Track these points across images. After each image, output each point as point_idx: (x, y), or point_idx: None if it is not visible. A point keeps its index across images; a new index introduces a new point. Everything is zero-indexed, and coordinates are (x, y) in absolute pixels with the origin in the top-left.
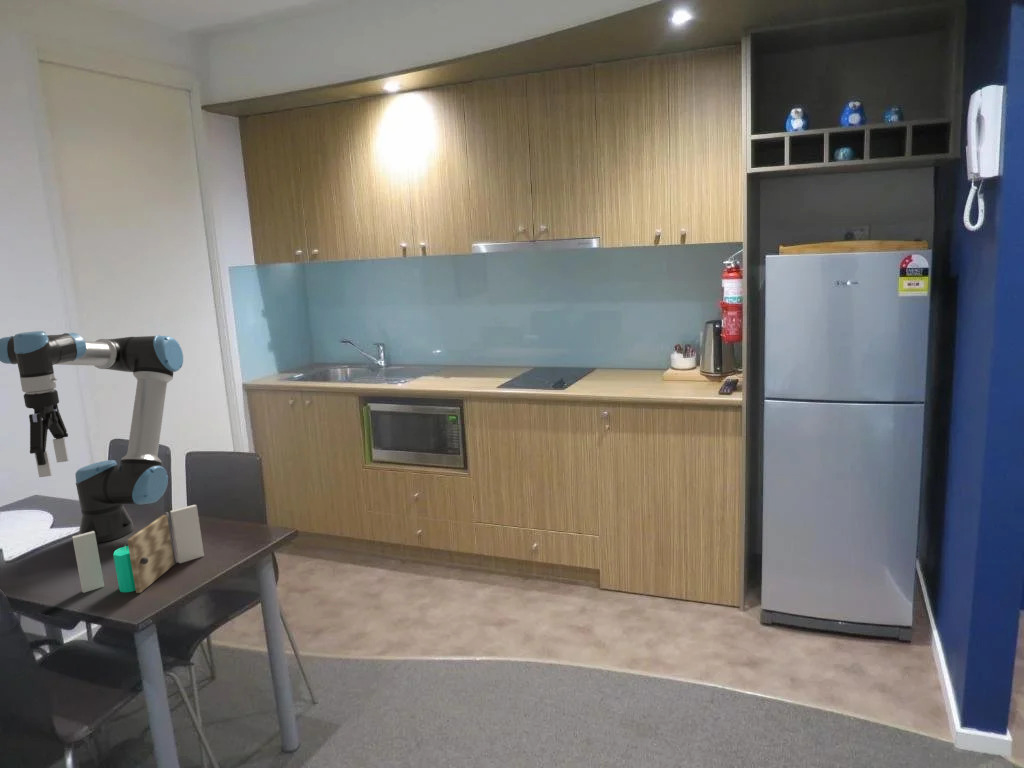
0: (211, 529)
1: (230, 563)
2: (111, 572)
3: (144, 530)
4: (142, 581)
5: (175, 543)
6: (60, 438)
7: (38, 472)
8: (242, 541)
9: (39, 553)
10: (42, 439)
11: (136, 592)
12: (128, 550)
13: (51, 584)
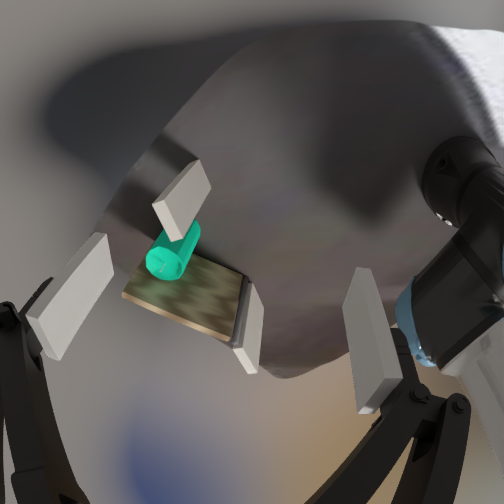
0: None
1: None
2: (260, 194)
3: (158, 313)
4: None
5: (247, 304)
6: (380, 402)
7: (83, 245)
8: (283, 345)
9: (437, 69)
10: (2, 407)
11: (156, 238)
12: (170, 266)
13: (256, 101)
